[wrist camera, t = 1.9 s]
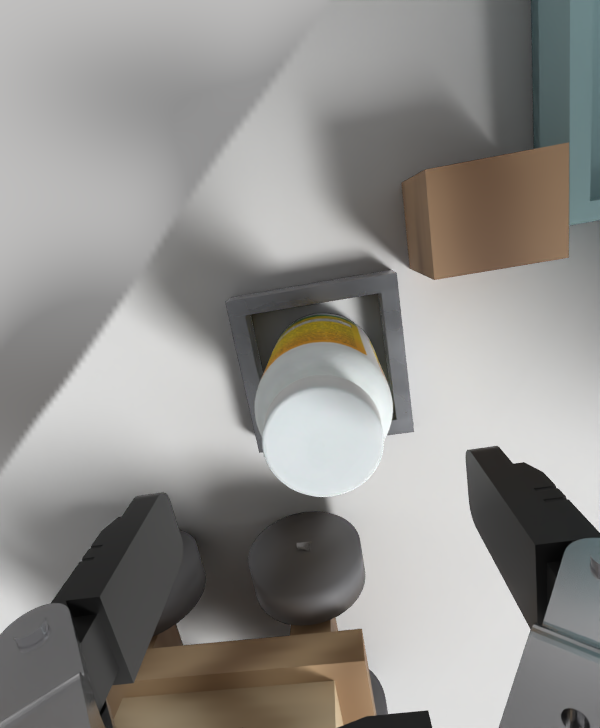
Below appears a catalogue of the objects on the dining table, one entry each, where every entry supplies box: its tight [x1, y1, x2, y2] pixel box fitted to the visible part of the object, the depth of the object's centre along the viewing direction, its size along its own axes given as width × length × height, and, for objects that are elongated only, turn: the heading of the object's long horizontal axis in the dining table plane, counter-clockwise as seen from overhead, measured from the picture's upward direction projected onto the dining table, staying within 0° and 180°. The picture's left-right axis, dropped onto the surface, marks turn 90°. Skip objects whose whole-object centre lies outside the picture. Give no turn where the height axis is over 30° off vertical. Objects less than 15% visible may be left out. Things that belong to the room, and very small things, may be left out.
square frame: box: [226, 270, 414, 453], centre depth 23 cm, size 8×8×2 cm
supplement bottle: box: [255, 314, 393, 497], centre depth 19 cm, size 5×5×10 cm
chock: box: [401, 142, 569, 280], centre depth 19 cm, size 5×4×5 cm
